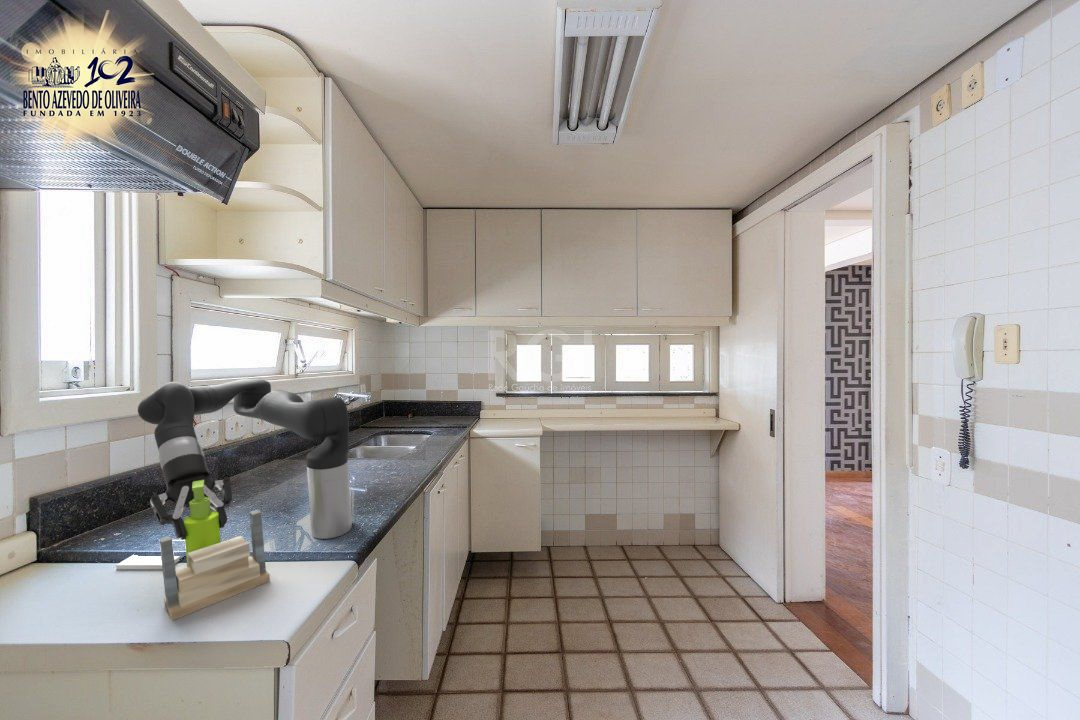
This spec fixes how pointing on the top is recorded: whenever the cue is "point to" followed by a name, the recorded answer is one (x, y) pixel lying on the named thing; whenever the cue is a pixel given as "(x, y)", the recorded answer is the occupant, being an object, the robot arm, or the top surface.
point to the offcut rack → (213, 571)
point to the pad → (144, 562)
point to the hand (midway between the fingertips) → (203, 531)
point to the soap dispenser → (201, 522)
